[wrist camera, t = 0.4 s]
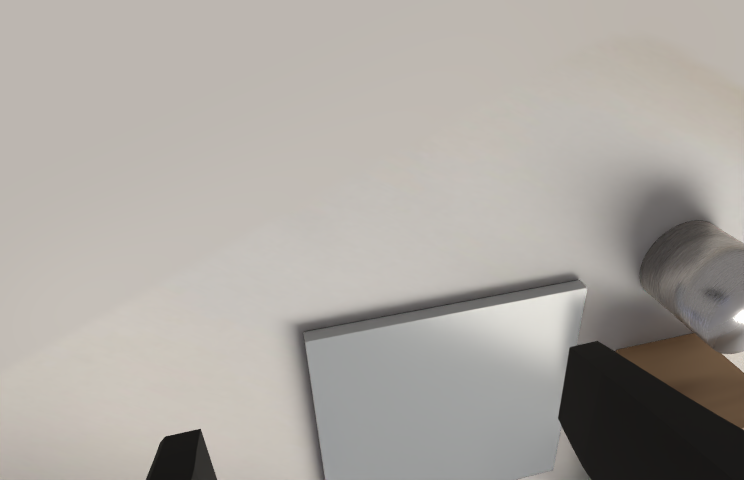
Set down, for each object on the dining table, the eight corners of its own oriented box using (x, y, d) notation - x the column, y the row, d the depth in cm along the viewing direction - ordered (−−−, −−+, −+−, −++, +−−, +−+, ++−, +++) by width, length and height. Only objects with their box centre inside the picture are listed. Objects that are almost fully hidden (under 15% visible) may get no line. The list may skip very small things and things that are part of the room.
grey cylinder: (706, 288, 26) (779, 342, 22) (631, 303, 25) (695, 362, 22) (731, 213, 24) (815, 261, 20) (650, 228, 23) (724, 280, 20)
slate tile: (547, 461, 30) (553, 470, 29) (330, 515, 28) (332, 526, 27) (579, 279, 23) (587, 287, 23) (303, 332, 21) (305, 342, 21)
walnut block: (674, 395, 30) (758, 483, 25) (600, 413, 29) (672, 507, 24) (696, 331, 27) (793, 415, 23) (615, 349, 26) (699, 439, 22)
